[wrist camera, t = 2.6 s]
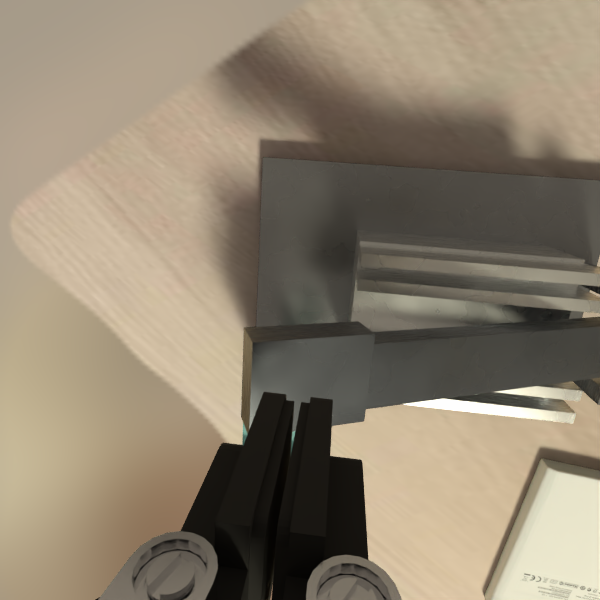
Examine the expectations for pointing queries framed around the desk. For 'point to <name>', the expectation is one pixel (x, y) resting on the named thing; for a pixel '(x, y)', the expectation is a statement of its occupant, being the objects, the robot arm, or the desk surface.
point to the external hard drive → (553, 539)
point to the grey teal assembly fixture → (431, 257)
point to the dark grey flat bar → (410, 362)
